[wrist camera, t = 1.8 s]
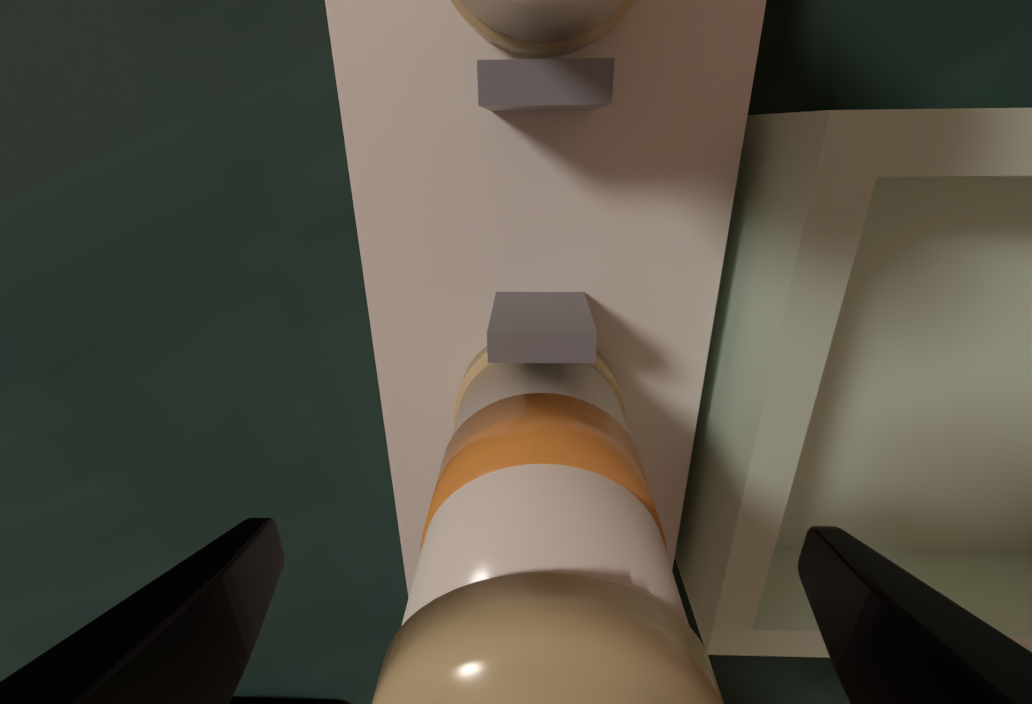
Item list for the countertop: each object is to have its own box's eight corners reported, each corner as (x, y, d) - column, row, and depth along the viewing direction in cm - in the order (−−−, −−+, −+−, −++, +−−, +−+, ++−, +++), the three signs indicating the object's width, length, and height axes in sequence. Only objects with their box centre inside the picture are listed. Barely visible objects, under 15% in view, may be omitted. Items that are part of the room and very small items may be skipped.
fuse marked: (613, 468, 13) (712, 888, 6) (463, 466, 13) (380, 874, 6) (625, 328, 12) (783, 671, 4) (454, 328, 12) (325, 660, 4)
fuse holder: (639, 674, 19) (665, 803, 15) (432, 669, 19) (408, 796, 16) (781, -297, 8) (971, -624, 5) (315, -279, 9) (158, -574, 5)
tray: (1048, 558, 16) (1177, 665, 13) (672, 551, 16) (706, 655, 13) (1312, 109, 11) (1647, 100, 7) (744, 115, 11) (830, 109, 8)
